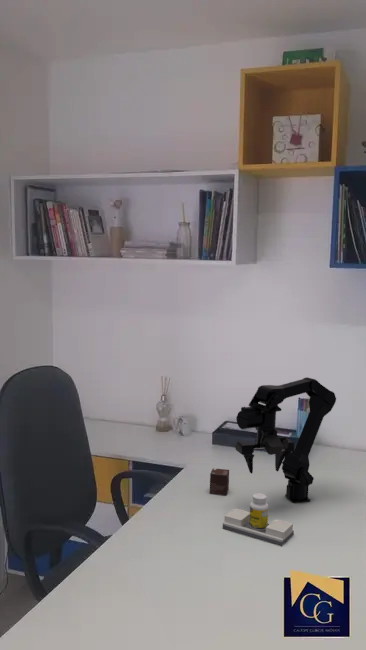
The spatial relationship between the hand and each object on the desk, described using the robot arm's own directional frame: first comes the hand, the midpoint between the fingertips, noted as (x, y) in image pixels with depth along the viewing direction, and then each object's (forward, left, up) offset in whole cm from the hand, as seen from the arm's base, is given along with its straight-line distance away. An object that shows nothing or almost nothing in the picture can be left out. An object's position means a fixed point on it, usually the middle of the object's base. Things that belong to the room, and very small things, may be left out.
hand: (264, 472), depth 198 cm
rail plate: (+9, +16, -12) cm, 22 cm away
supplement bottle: (+9, +16, -11) cm, 21 cm away
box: (+9, -16, -12) cm, 22 cm away
